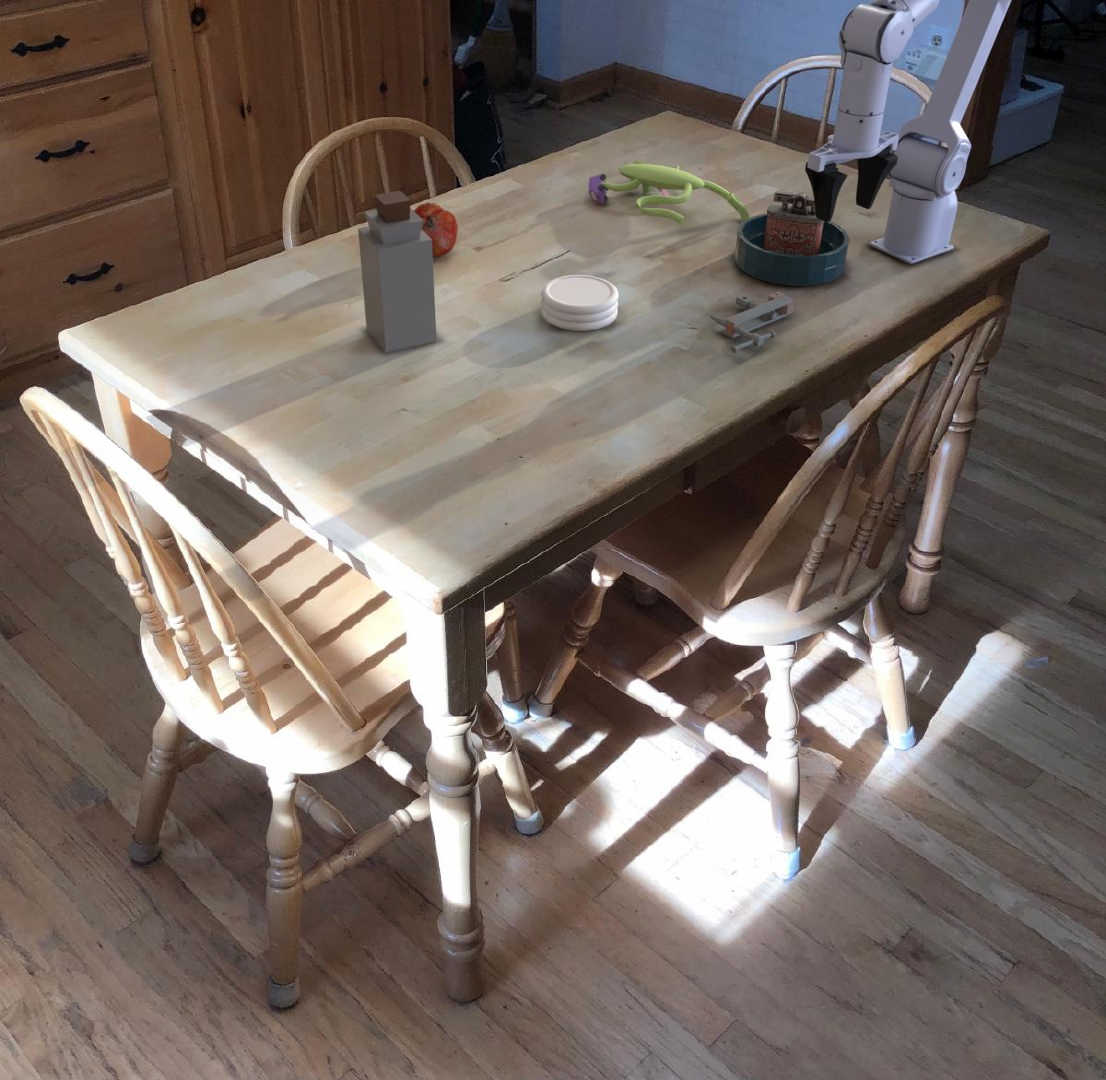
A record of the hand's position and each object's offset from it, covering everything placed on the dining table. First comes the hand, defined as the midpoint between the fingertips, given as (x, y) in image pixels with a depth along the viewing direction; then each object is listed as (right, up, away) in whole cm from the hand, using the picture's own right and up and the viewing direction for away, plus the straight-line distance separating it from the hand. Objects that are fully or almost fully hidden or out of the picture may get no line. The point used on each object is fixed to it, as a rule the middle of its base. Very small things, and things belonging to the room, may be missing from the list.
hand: (843, 212), depth 161 cm
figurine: (-21, +8, +27) cm, 35 cm away
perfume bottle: (-57, -18, -7) cm, 60 cm away
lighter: (-5, -4, +12) cm, 13 cm away
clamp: (-13, -16, -4) cm, 21 cm away
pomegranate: (-56, -2, +13) cm, 57 cm away
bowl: (-5, -4, +12) cm, 13 cm away
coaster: (-35, -14, -2) cm, 38 cm away
